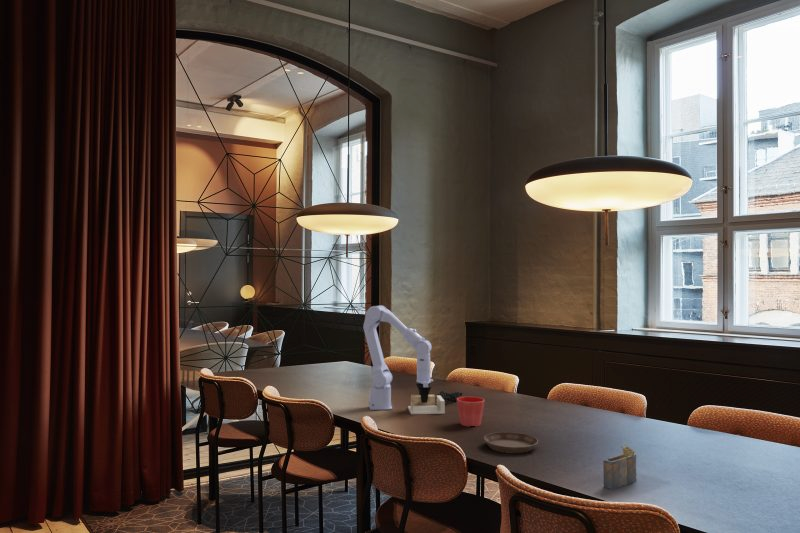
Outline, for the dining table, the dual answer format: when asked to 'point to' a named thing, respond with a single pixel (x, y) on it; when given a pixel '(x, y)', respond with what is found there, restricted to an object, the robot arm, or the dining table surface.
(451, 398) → the decorative element
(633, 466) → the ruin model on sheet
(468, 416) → the flower pot
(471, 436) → the dining table surface
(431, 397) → the tan block
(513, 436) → the plant saucer
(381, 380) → the robot arm
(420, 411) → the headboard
